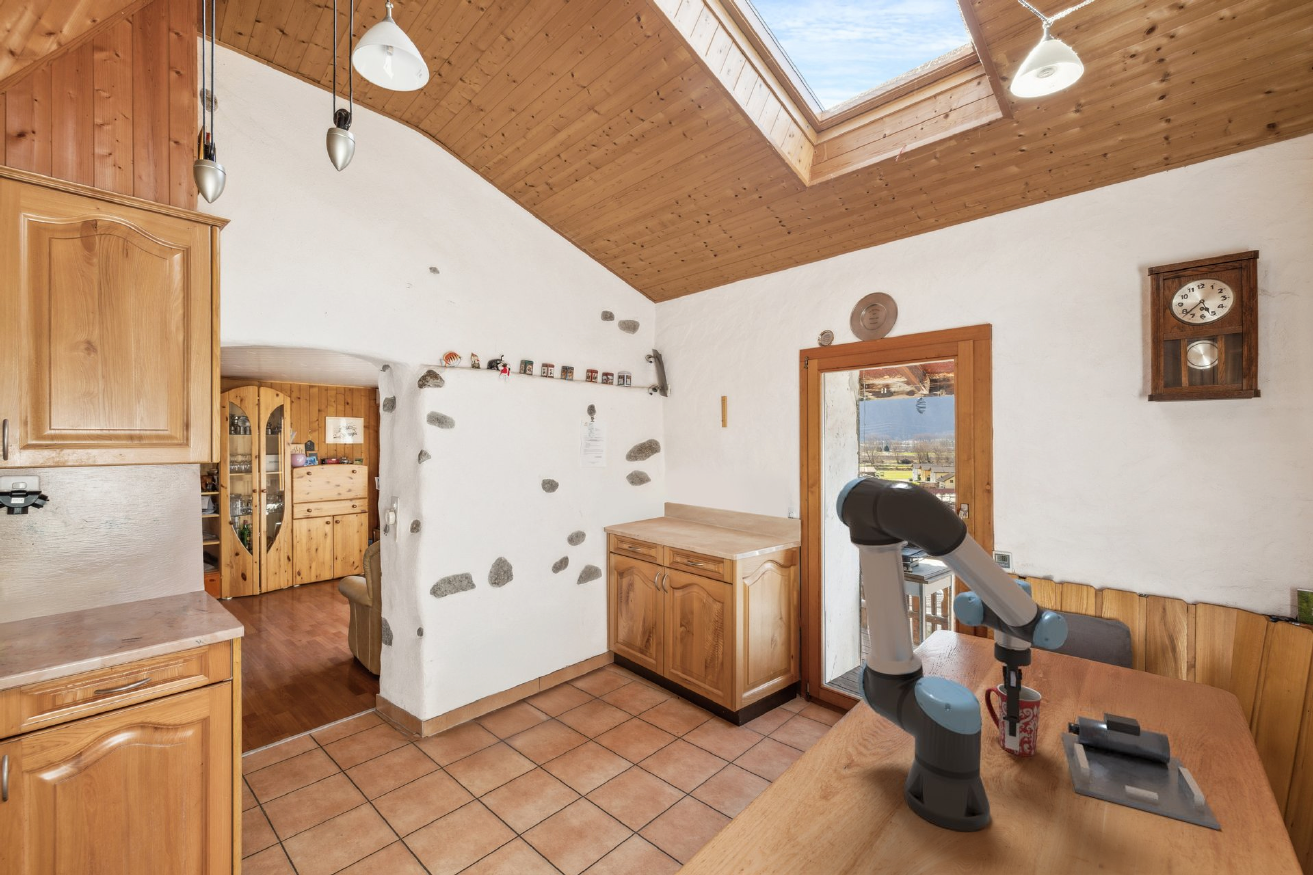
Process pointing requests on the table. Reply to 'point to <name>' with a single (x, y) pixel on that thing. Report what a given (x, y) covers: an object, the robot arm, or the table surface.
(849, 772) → the table surface
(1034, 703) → the mug
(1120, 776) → the plate
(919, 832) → the table surface
